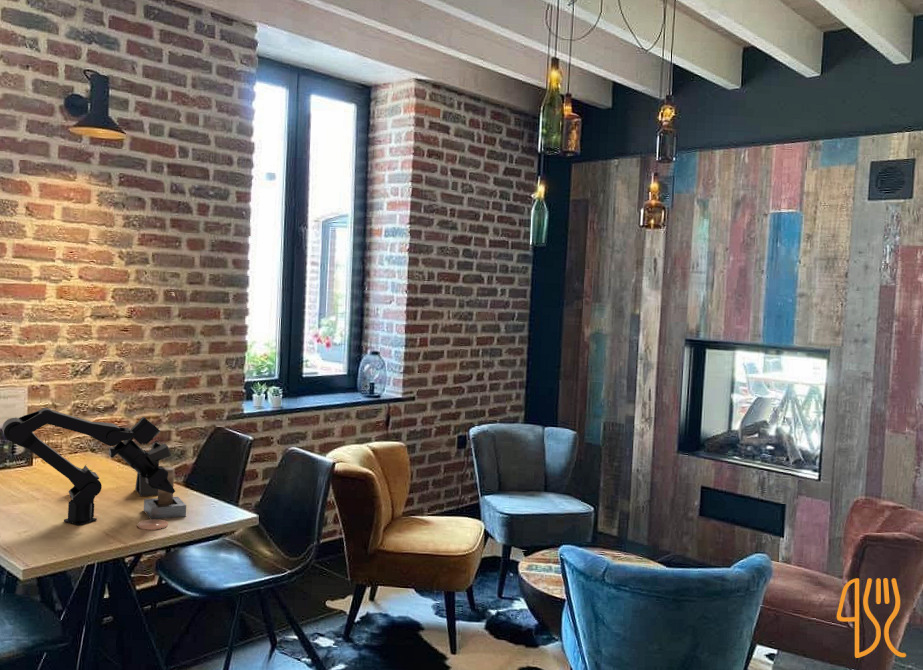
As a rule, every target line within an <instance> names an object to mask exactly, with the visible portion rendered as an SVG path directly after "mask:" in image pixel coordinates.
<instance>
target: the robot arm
mask: <svg viewBox="0 0 923 670" xmlns="http://www.w3.org/2000/svg"><path fill="white" fill-rule="evenodd" d="M46 425H50V426H54V427H57V428H62V429H65V430H69V431H72V432H74V433H79V434H83V435H86V436H89V437H91V438H92V439H94V440H97V441H99V442H101V443H102V444H105V445H106V446H110V447H108V449H109V450H108V451H109V452H108V456H109V457H110V458H111V459H113V458H115V456H117V455H118V456H119V457H120V458H121V459H123V461H124V462H126V463H127V464H128V465H129V467H131V469H133V470H134V471H135V472H136V474H137V473H139V474H140V475H141V476H142V477H143V478H146V482H147V483H148V484H149V485H150V486H151V487H152V488H156V489H159V490H162V491H166V492H169V493H172V494H173V495H174V494H175V493H176V489H175V488H174V487H172V485H171V484H170V482H169V481H168V479H167V478H168V472H167V471H166V470H165V469H164V467H163V466H161V465H160V461H161V460H163V459H166V458H170V457H171V456H172V452H171V451H170V448H169V446H168V445H167V444H166V443H163V442H162V443H159V442H158V441H155V442H153V443H152V444H151V448H150V449H149V450H148V451H147V450H146V449H142V447H140V445H141V446H142V445H148V444H149V443H150V442H151V441H152V440H153V439H155V437H156V436H158V435H159V434H160V433H161V430H160V429H159V428H158V427H157V426H156V425H154V424H153V423H152V422H151V421H150V420H148V419H147V418H146V417H145V416H142V417H141V418H140V419H139V420H138V422H137V423H135V424H134V425H133V426H132V427H130V428H129V427H121V426H118V425H116V424H115V423H112V422H104V421H102V422H101V421H91V420H87V419H84V418H79V417H77V416H72V415H70V414H66V413H63V412H59V411H56V410H52V409H50V408H48V407H43V408H41V409H39V410H37V411H33V412H31V413H28V414H24V415H23V416H20V417H11V418H8V419H6V420H5V421H4V422H3V424H2V427H1V428H2V429H1V430H2V433H3V436H4V438H5V439H6V440H7V441H9V442H11V443H13V444H15V445H17V446H18V447H21V448H24V449H26V450H29V451H30V452H31V453H33V454H34V455H35V456H37V457H38V458H40V459H41V460H43V461H44V462H45V463H46V464H47V465H49V466H50V467H52V468H53V469H55V470H56V471H57V472H59V473H60V474H61V475H63V476H64V477H65V478H66V479H68V480H69V482H71V483H72V485H73V487H71V488H70V489H69V490H68V494H69V497H70V498H71V499H70V500H69V501H68V503H67V505H68V508H67V509H68V510H67V518H66V519H63V522H65V523H69V524H73V525H76V526H81V525H85V524H89V523H92V522H95V521H98V518H96V517H94V516H95V503H94V502H95V498H96V496H98V495H99V494H100V493H101V491H102V483H101V481H100V480H99V479H100V477H99V475H98V473H97V472H94V471H93V470H92V471H90V470H91V469H90V468H88V466H87V464H84V466H83V468H81V467H78V466H77V465H75V464H73V463H72V462H71V461H69V460H68V459H66V458H65V457H64V456H62V455H61V454H60V453H58V451H56V450H55V449H53V448H52V447H51V446H49V445H48V444H47V443H45V442H44V440H41V439H40V438H39V437H38V436H37V435H36V434H35V433H34V432H35V431H38V430H39V429H40V428H42V427H44V426H46ZM133 439H134V440H135V441H136V442H137V443H138V444H140V445H138V444H137V443H136V442H135V441H134V440H133ZM157 461H159V463H158V462H157ZM158 464H159V466H158ZM89 469H90V470H89Z"/></svg>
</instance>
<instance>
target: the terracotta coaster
mask: <svg viewBox="0 0 923 670" xmlns="http://www.w3.org/2000/svg"><path fill="white" fill-rule="evenodd" d="M168 525H169V522H168V521H167V520H163V519H146V520H141V521H139V522H138V523H137V526H138V527H139V528H138V527H137V526H136V527H137V528H138V529H140V528H141V529H140V530H143V529H147V530H146V531H157V530H156V529H159V530H162V529H161V528H163V529H165V528H164V527H166V528H167V527H168ZM154 529H155V530H154Z"/></svg>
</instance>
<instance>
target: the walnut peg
mask: <svg viewBox="0 0 923 670" xmlns="http://www.w3.org/2000/svg"><path fill="white" fill-rule="evenodd" d="M163 468H164V469H165V470H166V471H167V472H168V478H167V479H168V481H169V482H170V484H171V485H172V487H173V488H174V487H175V484H174V483H175V468H174V467H170V466H168V467H167V466H164V467H163ZM173 497H174V493H173V494H172V493H169V492H166V491H162V490H159V489H158V495H157V498H158V504H157V506H161V505H173Z"/></svg>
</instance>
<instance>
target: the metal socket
mask: <svg viewBox="0 0 923 670" xmlns="http://www.w3.org/2000/svg"><path fill="white" fill-rule="evenodd" d="M157 504H158V497H157V498H156V497H155V498H144V501H143V512H144V513H145V512H146V513H147V514H146V513H145V514H146V515H147V517H148V518H149V517H150V518H151V519H158V520H163V519H171V517H173V518H182V517H187V504H186V503H185V502H184V501H183V500H182V499H181V498H180V496H173V505H161V506H157ZM150 518H149V519H150ZM162 518H163V519H162ZM151 519H150V520H151Z"/></svg>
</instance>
